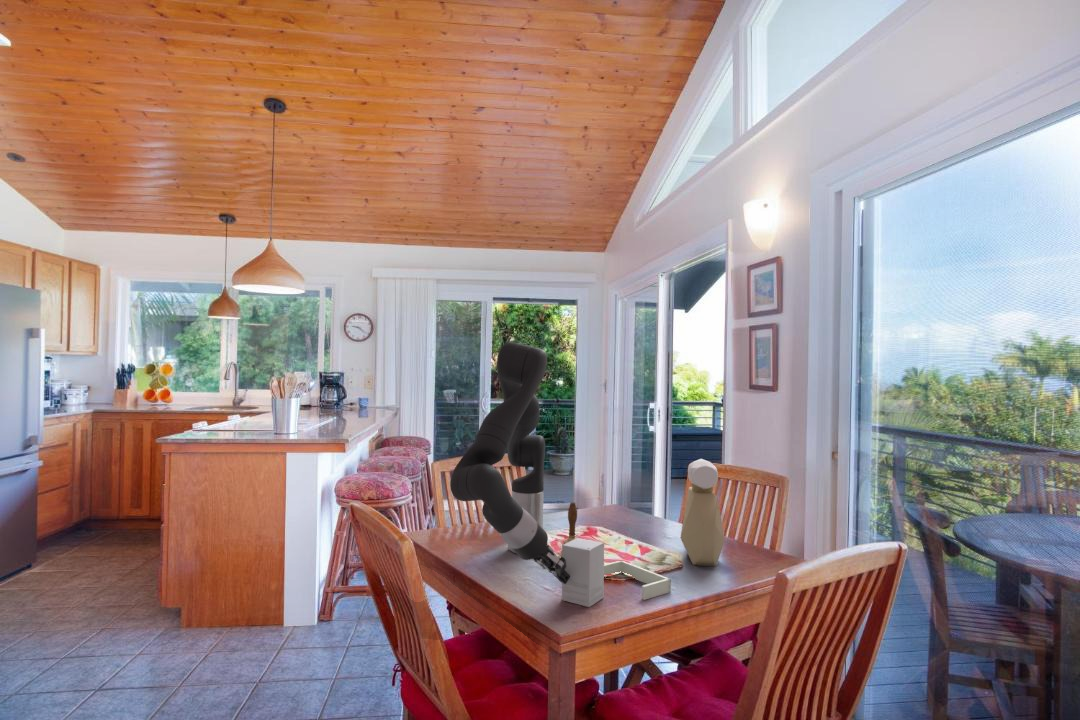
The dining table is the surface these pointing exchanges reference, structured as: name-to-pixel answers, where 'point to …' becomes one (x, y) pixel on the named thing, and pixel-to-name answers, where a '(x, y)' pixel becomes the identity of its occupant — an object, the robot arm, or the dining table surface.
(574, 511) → the hand bell
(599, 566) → the supplement box
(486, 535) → the dining table surface
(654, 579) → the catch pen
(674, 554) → the dining table surface
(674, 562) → the dining table surface
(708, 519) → the perfume bottle
